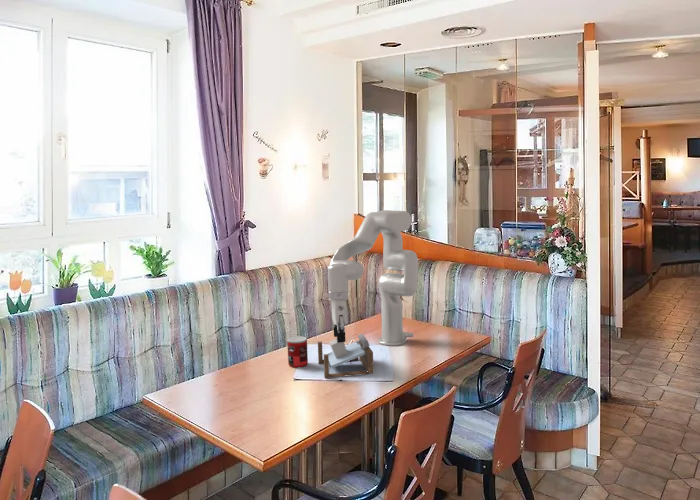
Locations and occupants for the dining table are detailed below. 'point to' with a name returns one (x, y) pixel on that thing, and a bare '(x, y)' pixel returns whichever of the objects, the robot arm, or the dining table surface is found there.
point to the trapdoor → (350, 352)
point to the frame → (365, 359)
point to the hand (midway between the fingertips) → (339, 338)
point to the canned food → (297, 351)
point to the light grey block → (338, 348)
